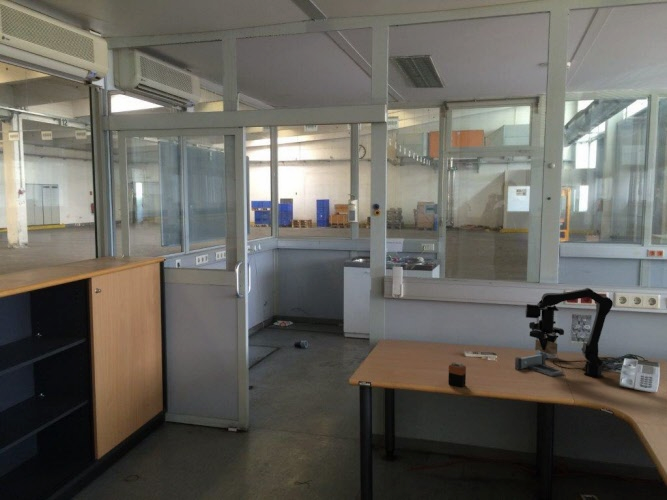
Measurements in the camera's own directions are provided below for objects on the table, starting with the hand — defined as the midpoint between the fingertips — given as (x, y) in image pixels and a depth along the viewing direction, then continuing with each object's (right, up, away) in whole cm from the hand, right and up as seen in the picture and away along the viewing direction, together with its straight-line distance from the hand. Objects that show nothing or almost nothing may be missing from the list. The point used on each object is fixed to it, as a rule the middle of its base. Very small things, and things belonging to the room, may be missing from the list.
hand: (546, 349), depth 252 cm
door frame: (-5, -11, +8) cm, 14 cm away
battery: (-50, -13, -20) cm, 55 cm away
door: (-4, -10, +8) cm, 14 cm away
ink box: (+11, -9, +26) cm, 30 cm away
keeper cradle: (0, -11, +1) cm, 11 cm away
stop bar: (0, -1, 0) cm, 1 cm away
